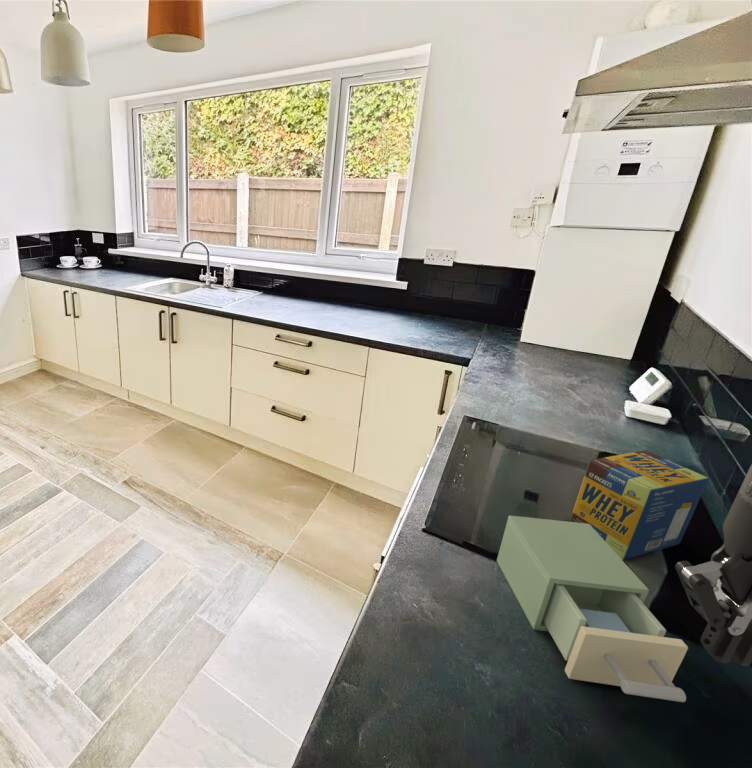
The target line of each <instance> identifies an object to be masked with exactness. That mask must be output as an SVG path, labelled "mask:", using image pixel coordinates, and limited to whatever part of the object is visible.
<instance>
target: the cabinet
mask: <svg viewBox="0 0 752 768" xmlns="http://www.w3.org/2000/svg"><path fill="white" fill-rule="evenodd" d="M496 563H497V564H498V566H499V568H500V570H501V571H502V573H503V575H504V577H505V579H506V581H507V584H508V585H509V587H510V588H511V591H512V593H513V594H514V596H515V598H516V599H517V600H516V601H517V602H518V603H519V605H520V607H521V609H522V611H523V613H524V615H525V616H526V618H527V620H528V622H529V624H530V625H531V628H532V630H534V631H542V632H548V633H550V632H549V631H548V629H547V627H546V625H545V624H544V622H543V620H542V619H543V616H544V613H545V610H546V607H547V604H548V601H549V598H550V595H551V592H552V589H553V586H554V583H557V584H565V585H573V586H581V587H589V588H598V589H606V590H614V591H622V592H630V593H635V594H636V596H637V597H638V598H639V599H640V600H641V601H642V603H643V604H644V603H645V602H646V600H647V597H648V594H649V592H650V589H649V588H648V587H647V586H646V584H644V582H643V581H642V580H641V579H640V578H639V577H638V576H637V575H636V574H635V573H634V572H633V570H632V569H631V568H630V567H629V566H628V565H627V564H626V563H624V562H623V561H622V559H621V558H620V557H619V556H618V555H617V554H616V553H615V552H614V551H613V550H612V548H611V547H610V546H609V545H608V544H607V543H606V542H605V541H604V540H603V538H602V537H601V536H600V535H599V534H598V533H597V532H596V531H595V530H594V529H593V527H592V526H591V525H590V524H586V523H576V522H570V521H567V520H565V521H564V520H558V519H557V520H555V519H546V518H538V517H537V518H536V517H528V516H520V515H519V516H517V515H511V514H510V515H508V517H507V520H506V525H505V528H504V532H503V536H502V540H501V543H500V546H499V550H498V555H497V558H496ZM644 605H645V604H644Z"/></svg>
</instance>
